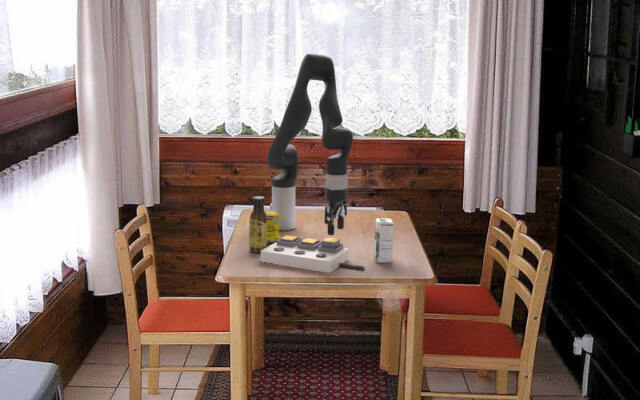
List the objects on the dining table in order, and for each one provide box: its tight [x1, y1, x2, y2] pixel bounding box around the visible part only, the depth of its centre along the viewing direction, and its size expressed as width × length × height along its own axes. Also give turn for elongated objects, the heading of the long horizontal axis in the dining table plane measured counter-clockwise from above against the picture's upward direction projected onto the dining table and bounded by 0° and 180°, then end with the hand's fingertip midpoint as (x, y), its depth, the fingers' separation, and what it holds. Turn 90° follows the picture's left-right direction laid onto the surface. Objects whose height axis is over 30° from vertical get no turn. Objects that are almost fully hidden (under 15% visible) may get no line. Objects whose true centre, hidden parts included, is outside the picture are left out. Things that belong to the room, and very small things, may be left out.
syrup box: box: [373, 217, 395, 264], centre depth 276 cm, size 6×6×14 cm
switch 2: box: [301, 237, 320, 246], centre depth 278 cm, size 5×5×2 cm
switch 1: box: [279, 235, 299, 242], centre depth 281 cm, size 5×5×2 cm
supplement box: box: [265, 211, 280, 245], centre depth 296 cm, size 6×6×11 cm
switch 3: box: [321, 237, 341, 248], centre depth 274 cm, size 5×5×2 cm
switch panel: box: [260, 235, 366, 274], centre depth 273 cm, size 35×16×6 cm, turn 66°
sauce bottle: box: [248, 195, 268, 254], centre depth 284 cm, size 6×6×20 cm
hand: (335, 231), depth 277 cm, fingers open, 8 cm apart
